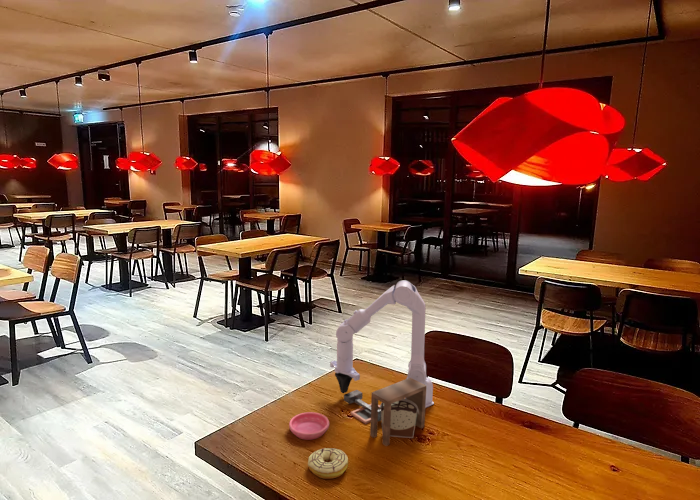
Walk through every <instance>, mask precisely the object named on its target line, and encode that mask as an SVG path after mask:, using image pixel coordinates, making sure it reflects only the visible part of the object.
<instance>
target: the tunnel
mask: <svg viewBox="0 0 700 500" xmlns="http://www.w3.org/2000/svg"><path fill="white" fill-rule="evenodd" d="M426 386H427V385H424V384H422V383H420V382H418V381H416V380H414V379H412V378H408V379H406V378H405V379H403V380H400V381H398V382H395V383H393V384H390V385H388V386H387V385H386V386H385V387H383V388H379V389H377V390H375V391H373V392H371V397H370V398H371V401H370V402H371V403H370V404H371V422H370V428H369V429H370V434H369V435H370V436H371V437H372V438H376V437H378V424H379V423H378V405H379V402H381V403H384V418H383V434H382V445H383V446H385V447H387V446H389V445H391V444H390V443H391V442H390V439H391V436H390V423H391V404H392V403H395V402H397V401H399V400H402V399H405V398H406V399H408V400H410V401H412V402H414V403H415V404H416V405H417V407H418V410H419V413H418V412H417V418H416V424H415V427H417V428H420V429H423V428H425V419H426V408H425V404H426Z"/></svg>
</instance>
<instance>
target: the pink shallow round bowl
mask: <svg viewBox="0 0 700 500" xmlns="http://www.w3.org/2000/svg"><path fill="white" fill-rule="evenodd" d="M288 427H289V430H290V431H291V433H292V434H294V435H295V436H296V437H297V438H299V439H302V440H308V441H309V440H310V441H311V440H315V439H319V438H320V437H322V436H323V435H324V434H325V433H326V432H327V430H329V427H330V421H329V419H328V417H327V416H326V415H324V414H322V413H319V412H314V411H309V412H302V413H299V414H296V415H294V416H293V417H292V418H291V419H290V421H289V423H288Z"/></svg>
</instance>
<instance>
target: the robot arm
mask: <svg viewBox="0 0 700 500" xmlns="http://www.w3.org/2000/svg"><path fill="white" fill-rule="evenodd" d="M417 289H418V288H417V287H416V286H415V285H413V283H411V282H410V281H409V280H406V279H405V280H399V281H398V282H397V283H396V284H393V285H392V286H391V287H389V288H388V289H387V290H385V291H384V292H383V293H382V294H381V295H379V297H378V298H376V299H375V300H374V301H372V303H371V304H370V305H368V306H367V307H366V308H364V309H363V308H359V309H358V310H357V309H355V310H354V311H353V314H352V315H350V316H349V317H348V318H345V319H344V320H343V322H341V323H340V324H339V326H338V327H337V329H336V333H335V336H336V338H337V341H336V342H337V343H336V360H332V361H330V362H329V363H330V364H329V367H330V368H334V377H335V378H336V380H337V383H338V386H339V390H340V392H341V394H347V393H348V390H349V387H350V384H351V382H352V380H354V381H355V382H356V381H359V380H360V379H361V378H360V377H361V375H360V373H359V372H357V370H356V369H355V367H353V365H354V363H353V361H354V360H353V359H354V341H353V340H354V334H357V333H359V332H360V331H361V330H362V329H363V328H365V327H366V326H367V325H368V324H370V323H371V321H372V320H371V318H372V317H373V316H374V315H375V314H377V313H378V312H380V311H381V309H383V308H384V307H386V306H387V305H396V303H397V304H398V305H401V306H404V307H406V308H407V309H408V310H409V311H411V313H412V314H411V315H412V316H411V342H410V343H411V349H410V360H409V361H408V372H407V377H406V378H405V379H408V378H412V379H414V380H416V381H418V382H420V383H422V384H424V385H427V386H426V404H425V409H426V408H429V407H430V406H432V405H434V404H435V403H434V401H433V393H434V392H433V391H434V384H433V382H432V380H431V379H430V377H428V376H427V364H426V361H425V338H426V337H425V335H426V302H425V301H424V299H423V297H422V296H421V294H420V293H419V291H418V290H417ZM404 399H406V398H404Z"/></svg>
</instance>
